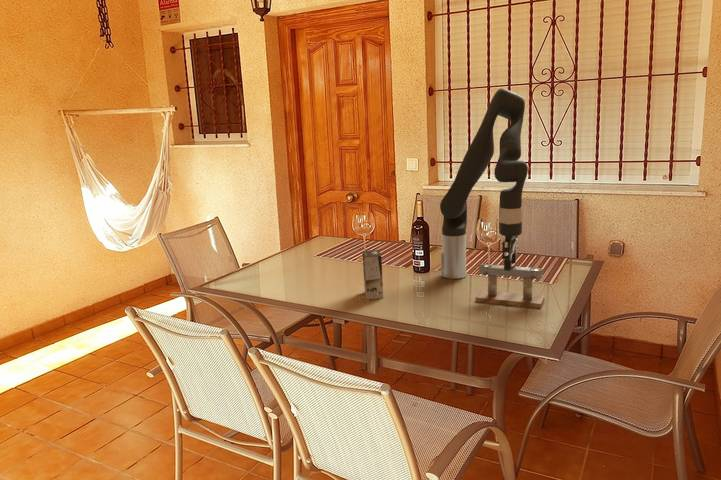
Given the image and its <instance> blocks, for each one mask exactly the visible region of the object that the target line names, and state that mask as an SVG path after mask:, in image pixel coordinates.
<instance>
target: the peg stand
mask: <svg viewBox="0 0 721 480" xmlns="http://www.w3.org/2000/svg"><path fill="white" fill-rule="evenodd" d="M522 279H523V280H522V281H523V283H522V286H523V287H522V293H516V292H508V291H507V292H505V291H504V292H503V291H498V275H489V274H487V290H485V289H484V290H483V289H480V290H479V292H478V293H477V295H476V296H475V302H477V303H488V304H495V305H496V304H498V305H508V306H517V307H524V308H525V307H527V308H535V309H542V306H543V304H544V301H545V295H538V294H533V280H534V279H533V278H525V277H522Z"/></svg>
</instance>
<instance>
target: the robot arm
mask: <svg viewBox="0 0 721 480" xmlns="http://www.w3.org/2000/svg"><path fill="white" fill-rule="evenodd" d="M525 108H526V101H525V98H524V97H523V96H522V95H519V94H518V93H515V92H513V91H511V90H509V89H507V88H504V87H500V88H499V89H498V90H497V91H495V93H494V95H493V96H492V98H491V101H490V103H489V105H488V107H487V110H486V112H485V115H484V117H483V119H482V120H481V124H480V125H479V128H478V130H477V132H476V134H475V135H474V137H473V140H472V142H471V143H470V144H469V146H468V149H467V151H466V152H465V155H464V157H463V158H462V161H461V163H460V166H459V168H458V171H457V172H456V176H455V178H454V181H453V183H452V184H451V185H450V187H449V189H448V191H447V192H446V193H445V195H444V196H443V197H442V199H441V201H440V204H439V210H440V212H441V215H442V216H443V220H442V221H443V222H442V227H441V242H442V243H441V244H442V249H441V251H442V252H441V253H440V277H441V278H442V277H443V278H446V279H451V280H457V279H464V278H465V277H467V225H468V224H467V223H468V203H467V200H468V198H469V196H470V194H471V191H472V190H473V188H474V187H475V185H476V184H477V182H478V181H479V180H480V178H481V177H482V175H484V173H485V171H486V170H487V167H488V166H489V164H490V162H491V161H492V158H493V156H494V154H495V141H494V126H495V123H496V120H497V118H498V116H499V117H502V118H505V120H509V123H510V124H509V126H508V127H507V128H506V129H505V130H504V131H503V132H502V134H501V135H500V138H499V143H498V144H499V154H498V159H497V161H496V164H495V168H494V173H493V175H494V177H495V179H496V180H497V182H499V183H515V185H513V186H512V187H509V188H505V189H502V190H501V191H500V193H499V211H498V234H499V235H501V236H504V239H503V241H502V243H501V244H502V249H501V251H502V254H501V260H503V266H504V270H506V271H510V270H511V266H512V264H516V263H517V252H518V250H519V249H518V248H519V247H518V246H519V244H518V243H519V241H518V240H519V239H518V238H519V236H521V235H522V234H523V209H522V205H523V204H522V202H523V201H522V199H523V197H522V196H523V189H524V186H525V182H526V181H527V176H528V172H529V167H528V164H527V162H526V161H524V160H521V159H520V158H521V157H522V144H521V136H522V135H521V134H522V128H523V123H524V115H525V111H526V109H525ZM507 254H508V255H507Z"/></svg>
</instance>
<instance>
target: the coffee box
mask: <svg viewBox="0 0 721 480" xmlns="http://www.w3.org/2000/svg"><path fill="white" fill-rule="evenodd" d="M382 258H383V257H382V255H381V252H380V249H369V250H368V249H367V250H363V251H362V266H363V270H362V271H363V284H364V295H365V298H366V300H374V299H375V300H378V299H383V298H384V286H383V285H384V283H383V264H382V263H383V262H382Z"/></svg>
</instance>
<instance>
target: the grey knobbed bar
mask: <svg viewBox="0 0 721 480" xmlns="http://www.w3.org/2000/svg"><path fill="white" fill-rule="evenodd" d="M543 271H544V270H543V268H539V267H524V266H513V265H511V270H510V271H506V270H504V265H500V264H499V265H498V264H490V263H481V264H479V265H478V273H479V275H484V276H485V275H486V276H488V274H489V275H497V276H502V277H503V276H504V277H514V278H523V277H525V278H533V279H532V280H536V279H537V280H538V279H542V278H543V276H544V275H543Z"/></svg>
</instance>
